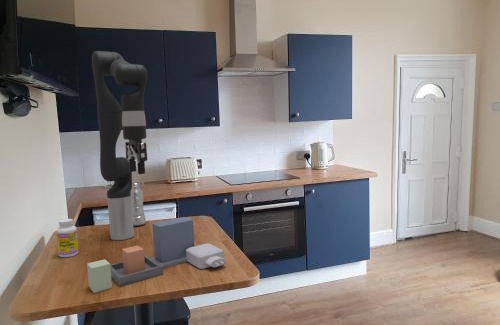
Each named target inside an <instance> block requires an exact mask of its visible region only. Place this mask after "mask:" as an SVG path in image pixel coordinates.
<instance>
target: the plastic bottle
mask: <svg viewBox="0 0 500 325" xmlns="http://www.w3.org/2000/svg"><path fill="white" fill-rule="evenodd" d="M131 204H132V216H133V227H134V226H135V227H137V226H138V227H139V226H142V225H145V223H146V215H145V211H144V210H145V209H144V191H143V190H142V189H141V188H140V182H139V181H136V182H132V189H131Z"/></svg>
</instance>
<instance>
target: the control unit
mask: <svg viewBox="0 0 500 325" xmlns="http://www.w3.org/2000/svg"><path fill="white" fill-rule="evenodd" d="M151 224H152V225H151V226H152V238H153V240H152V241H153V251H154V256H150V258H151V259H153V260H154V261H156V262H157V263H159V264H160V265H162V266H163V269H165V268H170V267H173V266H177V265H180V264H184V263H189V262H188V261H187V260H186V250H187V249H188V248H190V247H194V246H196V244H195V230H194V220H193V219H192V218H189V217H186V216H183V217H179V218H173V219H172V218H171V219H168V220H162V221H158V222H157V221H156V222H153V223H151Z"/></svg>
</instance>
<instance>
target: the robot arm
mask: <svg viewBox="0 0 500 325" xmlns="http://www.w3.org/2000/svg"><path fill="white" fill-rule="evenodd" d="M91 68H92V73H93V78H94V79H93V80H94V86H95V94H96V108H97V109H96V110H97V113H96V114H97V121H98V122H97V123H98V130H99V146H100V147H99V150H100V153H99V167H100V168H99V170H100V175H101V177H102V178H103V179H104V180H105V181H106V182H109V183H110V182H113V185H112V186H111V187H110V188H109V189H108V190H106V197H107V210H108V211H107V212H108V221H109V222H108V223H109V234H110V239H111V240H112V241H122V240H123V241H124V240H128V239H130V238H133V237H134V236H135V232H134V231H135V230H134V229H135V228H134V225H133V216H132V204H131V189H132V183H133V173H134V172H137V174H138V175H145V174H146V164H145V163H146V162H147V161H148V152H147V151H148V150H147V142H143V141H142V140H144V139H147V121H146V114H145V104H144V103H145V102H144V99H145V98H144V96H145V91H146V85H147V82H148V70H147V68H146V67H145V66H144V65H142V64H133V63H130V62H128V61H127V60H125V59H124V58H123V56H122V55H121V54H120V53H118V52H116V51H106V50H104V51H102V50H96V51H93V52H92V55H91ZM104 76H108V77H109V76H111V77H112V76H113V77H114V81H115V82H116V84H117V85H118V86H123V87H135V89H134V91H132V92H127V93H123V94H122V95H121V105H120V104H119V101H118V100H117V99H116V97H115V96H114V95H113V94H112V93H111V91H110V90H109V88H108V86H107V84H106V82H105V79H104ZM121 132H122V138H123V140H128V141H125V142H124V143H125V157H124V156H118V157H117V153H116V150H117V148H116V146H117V142H118V139H119V137H120V135H121Z"/></svg>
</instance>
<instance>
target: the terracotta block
mask: <svg viewBox="0 0 500 325" xmlns="http://www.w3.org/2000/svg"><path fill="white" fill-rule="evenodd" d="M121 253H122V254H121V255H122V262H123V267H124V272H126V273H127V274H132V273H135V272H139V271H142V270H145V260H144V256H145V250H144V248H142V247H141V246H139V245H134V246H129V247H124V248H121Z"/></svg>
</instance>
